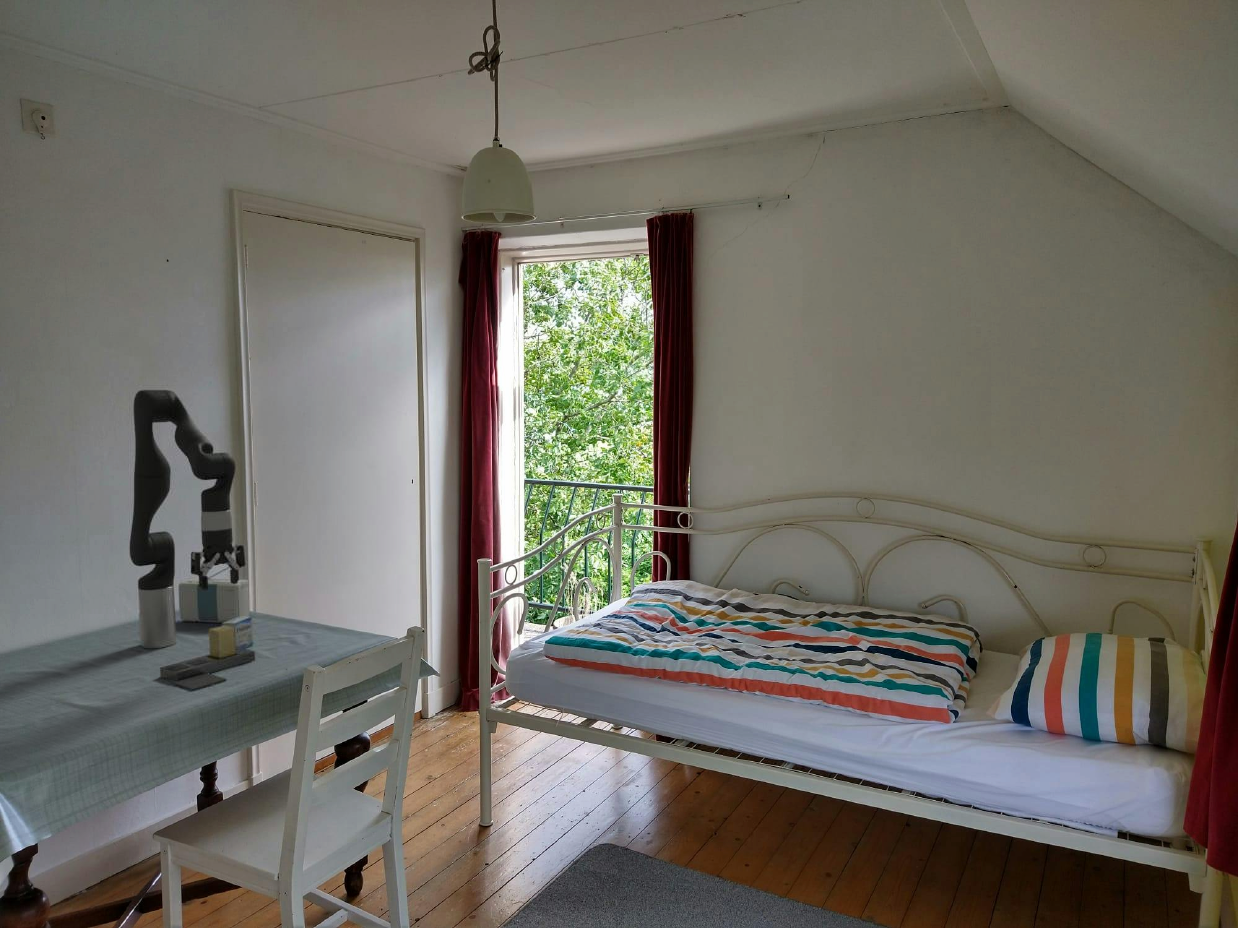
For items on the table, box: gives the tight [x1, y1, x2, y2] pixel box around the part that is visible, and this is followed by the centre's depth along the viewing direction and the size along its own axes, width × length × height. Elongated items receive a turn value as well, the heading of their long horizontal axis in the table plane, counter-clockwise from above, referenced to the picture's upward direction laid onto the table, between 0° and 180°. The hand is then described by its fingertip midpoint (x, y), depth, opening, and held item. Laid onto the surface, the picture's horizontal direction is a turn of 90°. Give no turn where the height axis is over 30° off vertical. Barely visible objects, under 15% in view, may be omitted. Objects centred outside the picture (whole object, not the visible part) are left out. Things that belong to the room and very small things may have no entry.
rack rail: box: [159, 647, 256, 682], centre depth 232 cm, size 8×22×3 cm, turn 147°
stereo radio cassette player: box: [178, 566, 250, 624], centre depth 281 cm, size 21×8×20 cm, turn 80°
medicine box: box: [221, 616, 254, 649], centre depth 250 cm, size 8×4×9 cm, turn 168°
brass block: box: [208, 625, 235, 660], centre depth 235 cm, size 4×4×10 cm
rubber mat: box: [172, 673, 227, 692], centre depth 221 cm, size 9×9×1 cm
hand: (219, 586), depth 234 cm, fingers open, 8 cm apart
